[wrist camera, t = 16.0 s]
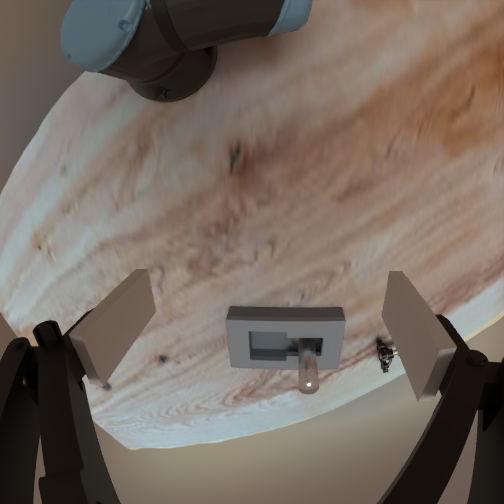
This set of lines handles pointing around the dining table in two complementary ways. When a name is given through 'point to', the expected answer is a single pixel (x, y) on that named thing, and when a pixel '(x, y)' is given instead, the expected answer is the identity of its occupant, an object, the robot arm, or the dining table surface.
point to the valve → (385, 355)
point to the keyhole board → (283, 336)
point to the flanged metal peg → (307, 364)
